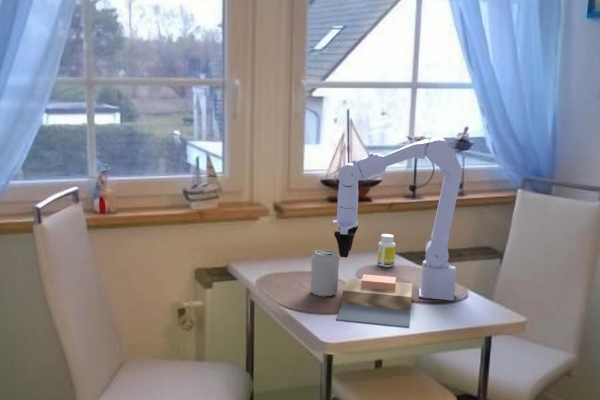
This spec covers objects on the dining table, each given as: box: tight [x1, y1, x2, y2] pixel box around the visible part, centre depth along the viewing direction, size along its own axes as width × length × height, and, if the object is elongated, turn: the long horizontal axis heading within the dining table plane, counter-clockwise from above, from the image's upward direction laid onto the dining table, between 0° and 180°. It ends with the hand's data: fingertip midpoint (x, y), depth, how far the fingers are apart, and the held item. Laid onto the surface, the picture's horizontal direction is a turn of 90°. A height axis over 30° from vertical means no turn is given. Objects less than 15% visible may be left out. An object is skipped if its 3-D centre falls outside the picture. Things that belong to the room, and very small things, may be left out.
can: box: [309, 249, 340, 297], centre depth 200 cm, size 8×8×12 cm
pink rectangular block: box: [361, 273, 397, 291], centre depth 197 cm, size 9×6×2 cm, turn 80°
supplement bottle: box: [376, 233, 396, 268], centre depth 232 cm, size 5×5×10 cm
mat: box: [335, 303, 411, 328], centre depth 185 cm, size 18×12×1 cm, turn 80°
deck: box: [341, 277, 413, 311], centre depth 197 cm, size 18×12×4 cm, turn 80°
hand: (345, 253), depth 206 cm, fingers open, 7 cm apart
